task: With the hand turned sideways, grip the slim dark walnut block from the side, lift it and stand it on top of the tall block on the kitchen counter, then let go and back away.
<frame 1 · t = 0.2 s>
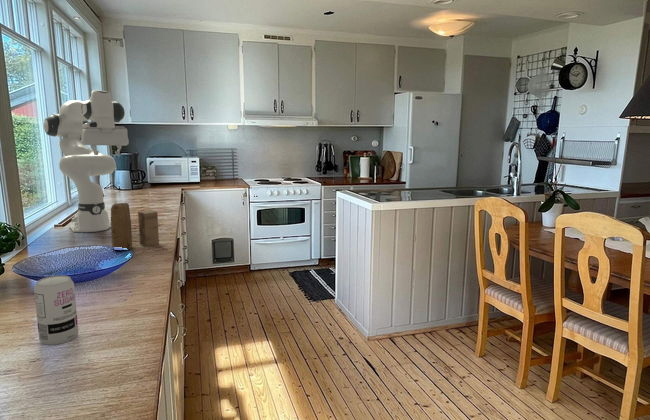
hand: (107, 155, 198), 40 cm above the worktop, tool pointing down, fingers open, 8 cm apart
block: (123, 249, 185), on the worktop
walnut block: (149, 244, 194), on the worktop
supplement can: (59, 338, 104), on the worktop
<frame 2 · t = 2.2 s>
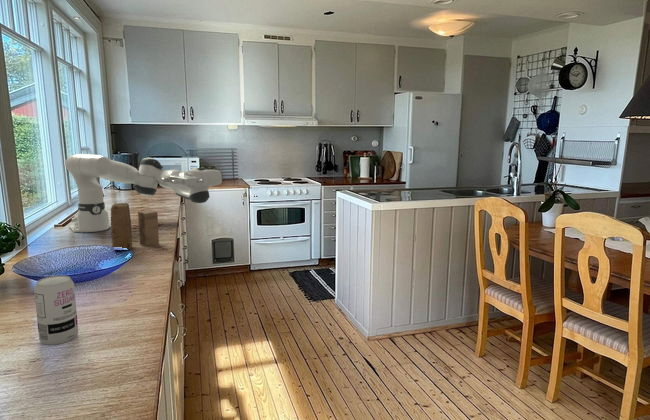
hand: (167, 181, 199), 28 cm above the worktop, tool horizontal, fingers open, 8 cm apart
nothing on the worktop moved.
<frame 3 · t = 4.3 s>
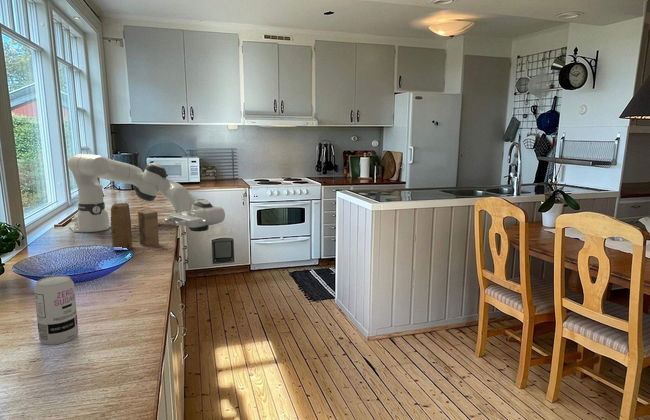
hand: (170, 222, 200), 9 cm above the worktop, tool horizontal, fingers open, 8 cm apart
nothing on the worktop moved.
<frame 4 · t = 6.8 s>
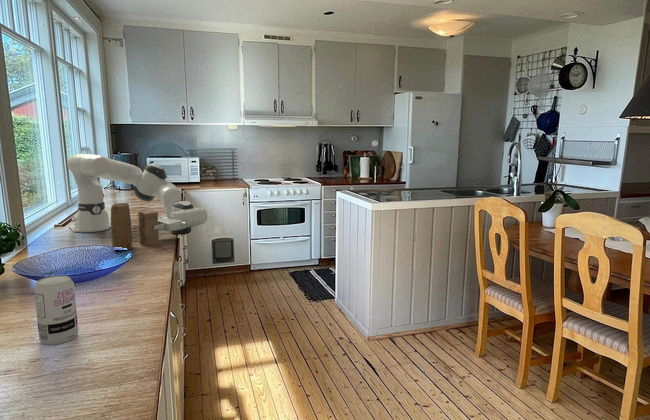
hand: (149, 226, 192), 8 cm above the worktop, tool horizontal, fingers closed on walnut block, 6 cm apart
walnut block: (149, 243, 194), on the worktop, touching gripper
everything else where it was.
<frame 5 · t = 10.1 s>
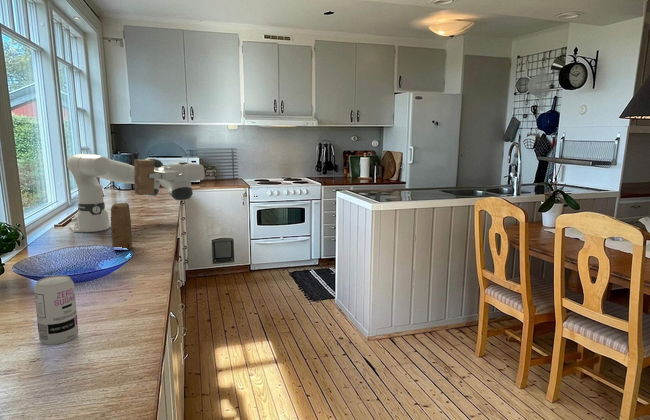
hand: (144, 175, 187), 32 cm above the worktop, tool horizontal, fingers closed on walnut block, 6 cm apart
walnut block: (144, 193, 188), point 23 cm above the worktop, touching gripper
everything else where it was.
when the fingers open (29 cm above the worktop, at t = 13.6 s): walnut block drops 1 cm, resting on block.
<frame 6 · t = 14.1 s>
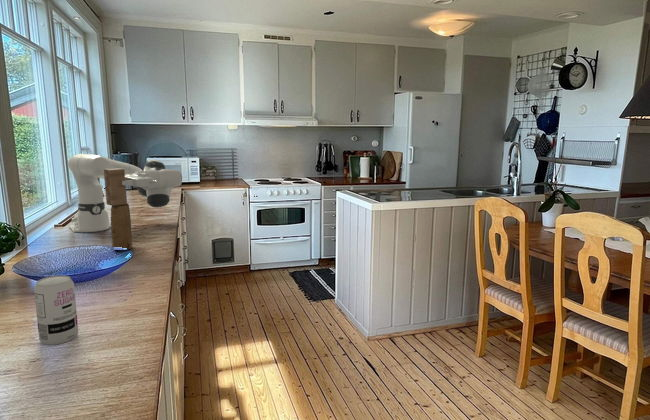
hand: (116, 182, 179), 29 cm above the worktop, tool horizontal, fingers open, 8 cm apart
block: (123, 249, 185), on the worktop, touching walnut block
walnut block: (116, 204, 180), point 20 cm above the worktop, touching block
everything else where it was.
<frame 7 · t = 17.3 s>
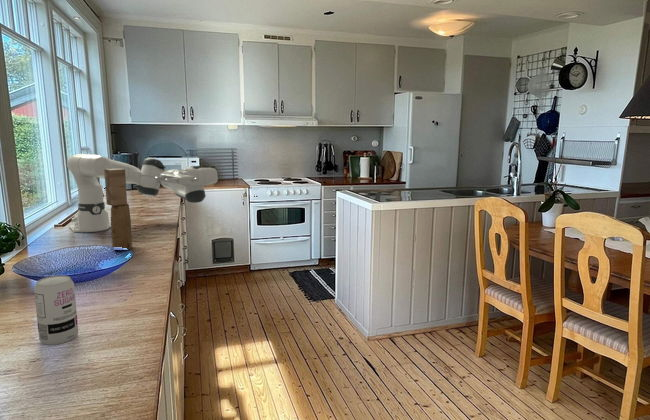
hand: (160, 180, 193), 29 cm above the worktop, tool horizontal, fingers open, 8 cm apart
nothing on the worktop moved.
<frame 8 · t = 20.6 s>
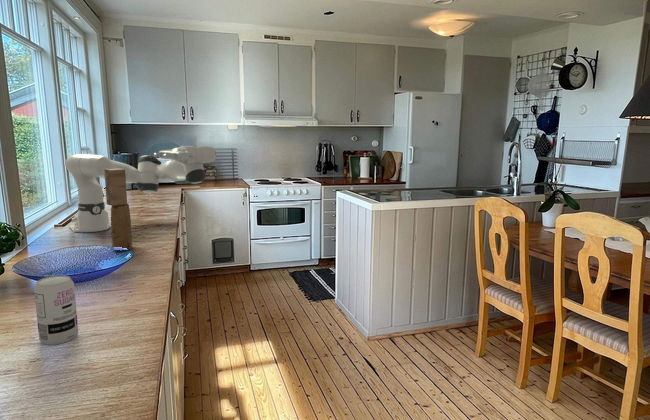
hand: (159, 155, 196), 40 cm above the worktop, tool horizontal, fingers open, 8 cm apart
nothing on the worktop moved.
at the end: walnut block inside the target area on the block (1.4 cm from its centre), point 20.1 cm above the block's base; walnut block tilted 0°; block tilted 0° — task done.
